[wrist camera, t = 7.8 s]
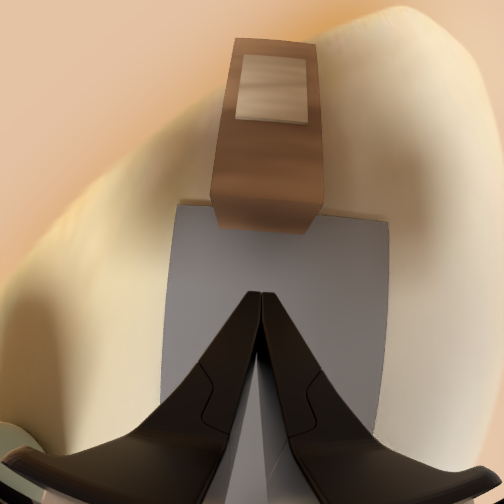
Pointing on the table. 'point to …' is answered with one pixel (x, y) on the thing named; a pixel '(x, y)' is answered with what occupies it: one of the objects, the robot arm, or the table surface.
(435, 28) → the table surface
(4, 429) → the cup
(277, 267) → the mat
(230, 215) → the block
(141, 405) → the table surface
